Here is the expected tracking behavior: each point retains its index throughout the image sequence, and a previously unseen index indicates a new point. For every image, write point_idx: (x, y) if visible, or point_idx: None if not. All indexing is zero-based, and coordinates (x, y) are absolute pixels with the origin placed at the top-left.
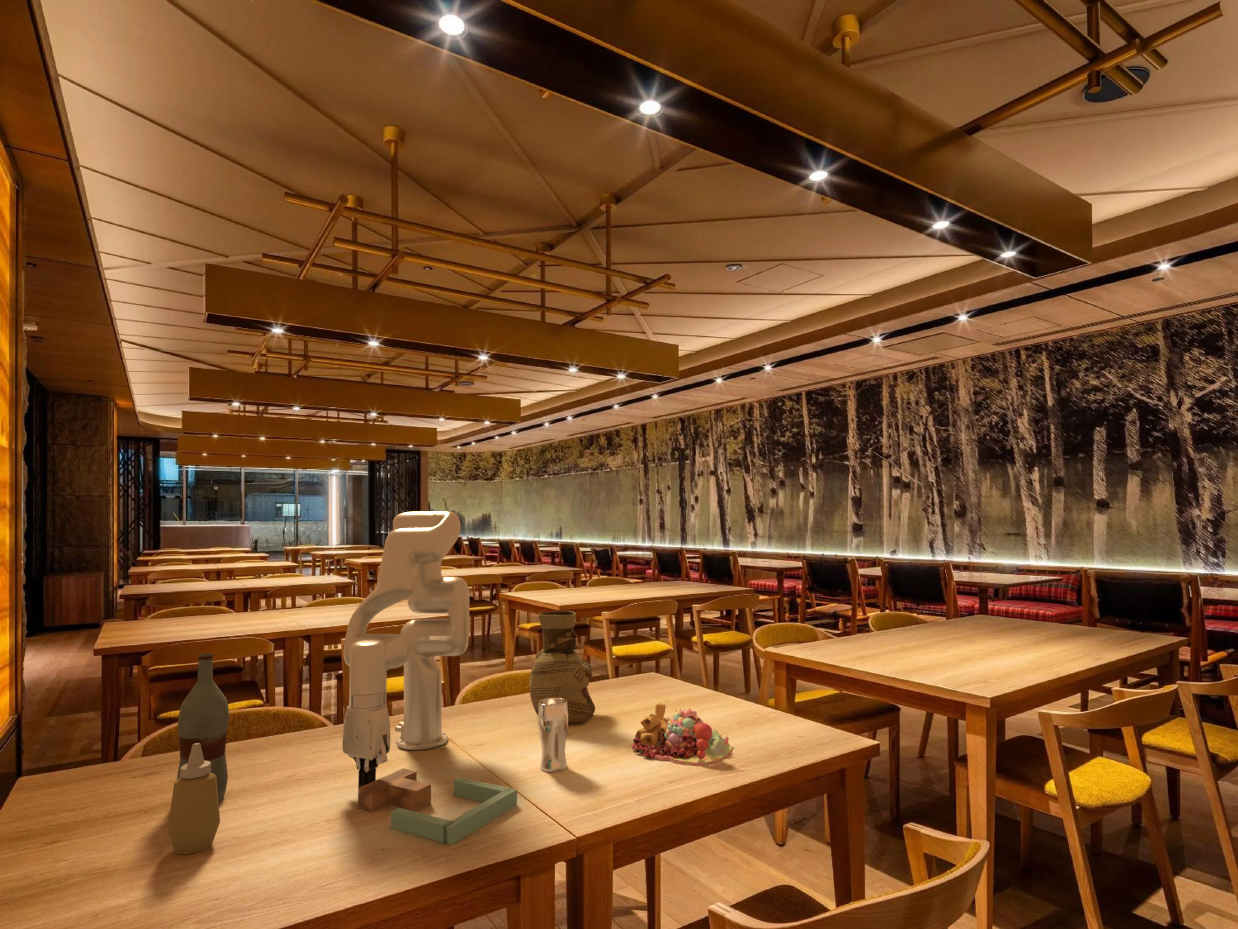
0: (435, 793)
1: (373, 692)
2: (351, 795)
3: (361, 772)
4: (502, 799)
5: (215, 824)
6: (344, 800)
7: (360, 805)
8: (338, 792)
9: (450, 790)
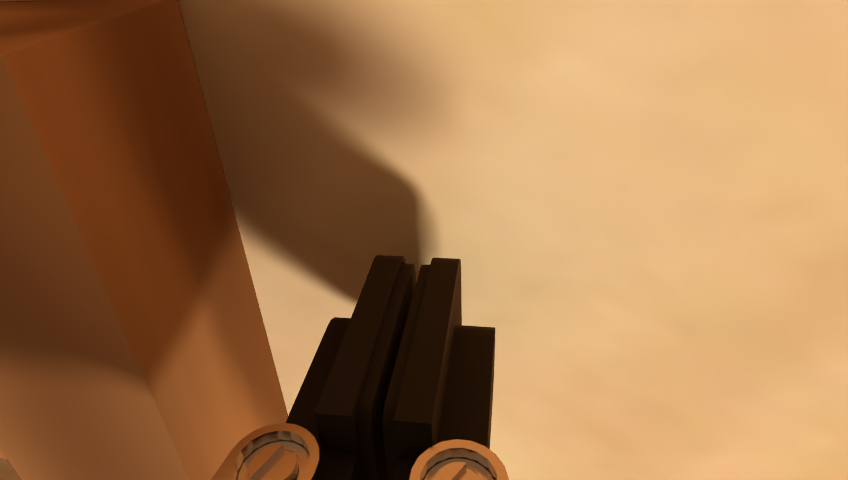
0: None
1: None
2: (548, 205)
3: (386, 413)
4: None
5: None
6: (509, 80)
7: (119, 6)
8: (764, 204)
9: None
